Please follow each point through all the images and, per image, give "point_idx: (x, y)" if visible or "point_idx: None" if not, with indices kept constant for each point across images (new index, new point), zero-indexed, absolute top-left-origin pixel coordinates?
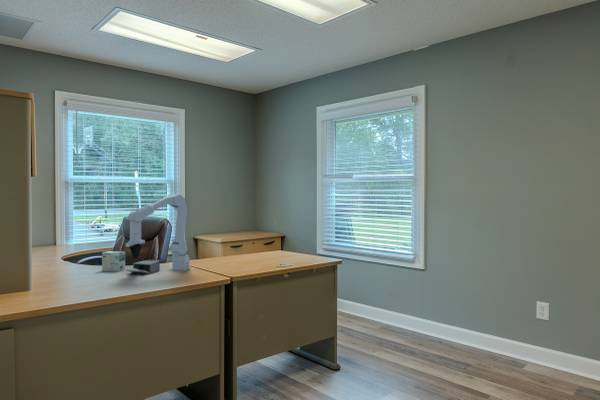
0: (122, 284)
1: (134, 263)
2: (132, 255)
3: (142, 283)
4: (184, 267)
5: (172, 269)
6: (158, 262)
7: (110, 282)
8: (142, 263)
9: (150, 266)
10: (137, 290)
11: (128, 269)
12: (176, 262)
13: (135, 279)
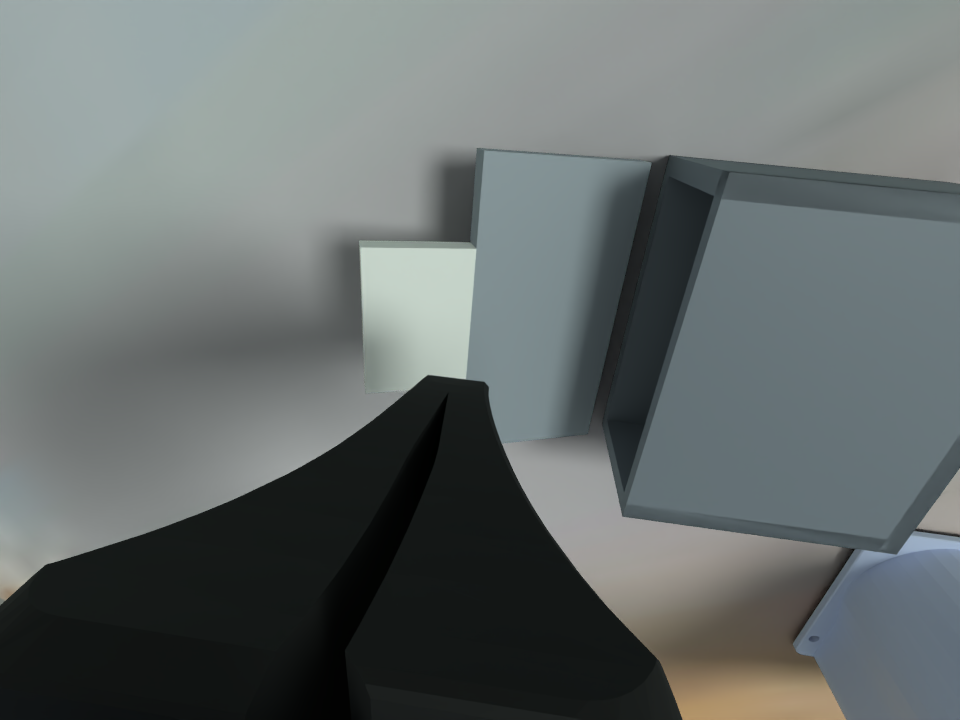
0: (58, 369)
1: (717, 209)
2: (394, 407)
3: (188, 501)
4: (828, 684)
5: (860, 564)
6: (852, 543)
7: (37, 195)
8: (697, 375)
9: (617, 487)
10: (5, 544)
11: (360, 262)
12: (898, 688)
13: (295, 384)
